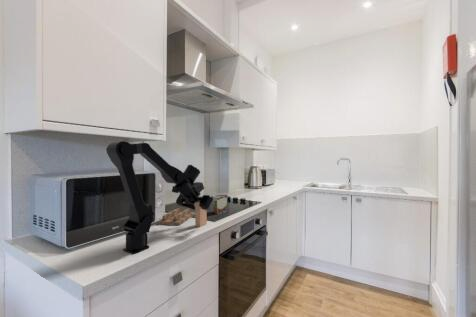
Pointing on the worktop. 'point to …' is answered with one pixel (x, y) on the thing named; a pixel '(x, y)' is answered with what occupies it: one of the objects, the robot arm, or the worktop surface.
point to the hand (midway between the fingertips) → (202, 210)
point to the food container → (220, 203)
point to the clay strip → (200, 215)
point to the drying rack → (176, 217)
